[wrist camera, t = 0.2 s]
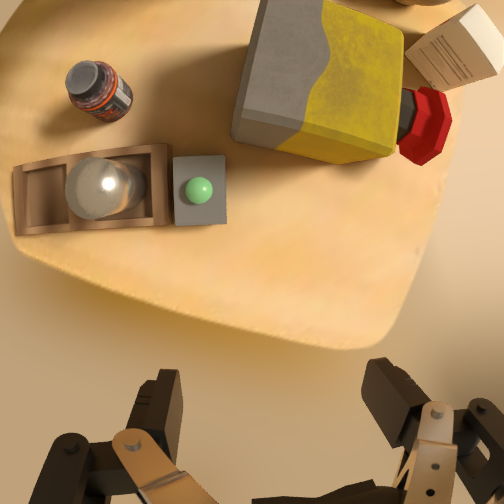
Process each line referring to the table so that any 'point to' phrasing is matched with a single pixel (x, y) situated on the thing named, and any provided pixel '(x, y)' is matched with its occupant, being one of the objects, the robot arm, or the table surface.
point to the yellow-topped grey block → (333, 88)
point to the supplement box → (459, 50)
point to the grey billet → (103, 187)
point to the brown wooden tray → (54, 200)
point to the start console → (199, 190)
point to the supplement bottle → (98, 90)
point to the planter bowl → (423, 2)
